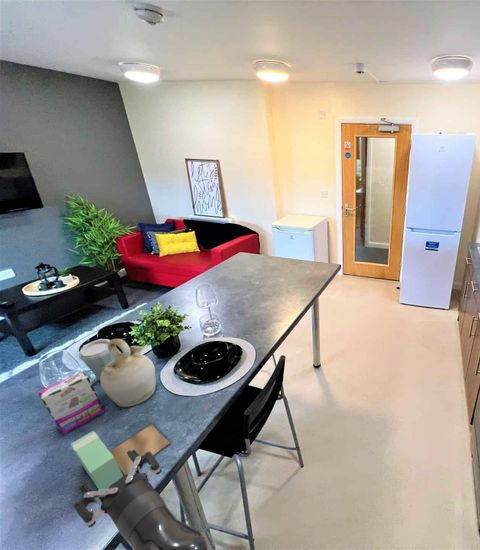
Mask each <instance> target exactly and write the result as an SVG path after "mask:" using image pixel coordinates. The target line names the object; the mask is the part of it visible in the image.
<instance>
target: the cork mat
mask: <svg viewBox="0 0 480 550" xmlns="http://www.w3.org/2000/svg"><path fill="white" fill-rule="evenodd" d="M170 445H171V442H170V441H169V440H168V439H167V438H166V437H165V436H164V435H163V434H162V433H161V432H160V431H159V429H157V427H155V426H154V425H153V424H149V425H148V426H146V427H145V428H143V429H142V430H140V431H139V432H137V433H136V434H133V435H132V436H131V437H129V438H128V439H126V440H125V441H123V442H122V443H120V444H119V445H117V446H116V447H114V448H113V449H111V450H109V452H110V453H111V454H112V455H113V457H114V459H115V461H116V463H117V465H118V467H119V469H120V471H121V473H122V475H123V476H124V475H125V474H126V475H128V474H129V471H130V469H131V466H133V462H132V460H131V459H130V458H129V456H128V454H127V451H129V450H131V451H133V450H135V451H136V452H137V453H138V454H139V455H140V456H143V455H145V453H146V452H149V451H150V452H151V453H152V455H153V456H154V457H155V456H156V455H157V454H159V452H161V451H162V450H163V449H165V448H166V447H168V446H170Z"/></svg>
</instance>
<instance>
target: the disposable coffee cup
mask: <svg viewBox="0 0 480 550" xmlns="http://www.w3.org/2000/svg"><path fill="white" fill-rule="evenodd" d="M110 341H111V340H110V339H108V338H100V339H96V340H93V341H90V342H88V343H86V344H85V345H83V346H82V347H81V349H80V350H79V354H78V357H79V360H81V361H82V362H83V363H84V364H85V365H86V366H87V367H88V369H89V370H90V371H91V372H92V374H94V376H95V377H96V378H97V379H98V380H99V381H100V377H101V373H102V368H103V367H106V365H107V364H109V363H110V362H111V361H112V360H114V359H115V357H114V356H112V355H111V353H110V352H109V350H108V343H109V342H110Z"/></svg>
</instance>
